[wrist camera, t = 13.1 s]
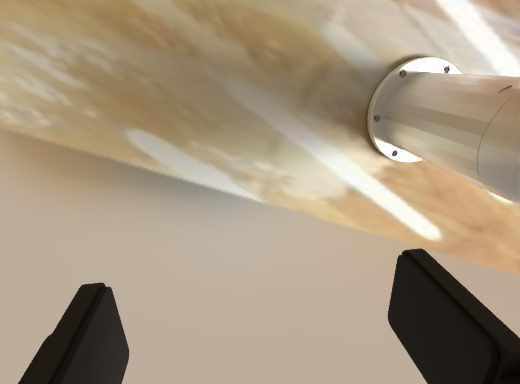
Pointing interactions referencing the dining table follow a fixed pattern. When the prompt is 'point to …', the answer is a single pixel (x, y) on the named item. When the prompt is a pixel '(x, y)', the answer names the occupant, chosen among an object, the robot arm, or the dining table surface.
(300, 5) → the dining table surface
